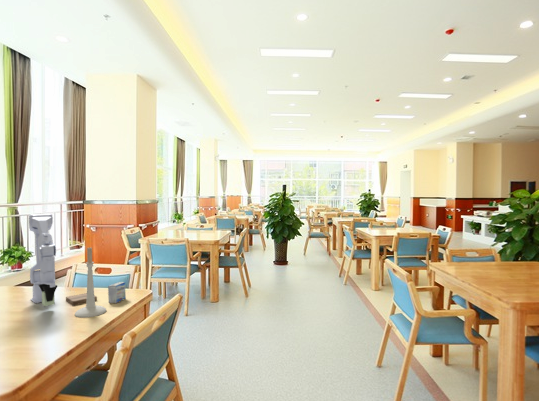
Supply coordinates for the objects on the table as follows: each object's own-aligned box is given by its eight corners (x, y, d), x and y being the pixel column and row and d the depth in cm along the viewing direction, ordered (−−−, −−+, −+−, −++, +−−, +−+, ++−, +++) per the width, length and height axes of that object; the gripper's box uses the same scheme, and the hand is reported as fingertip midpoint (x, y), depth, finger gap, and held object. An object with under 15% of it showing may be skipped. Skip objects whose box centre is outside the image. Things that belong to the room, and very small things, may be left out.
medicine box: (116, 303, 174) (115, 285, 173) (108, 303, 175) (107, 285, 174) (125, 298, 181) (125, 281, 181) (118, 298, 182) (117, 281, 182)
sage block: (42, 304, 163) (41, 291, 163) (51, 302, 166) (51, 289, 166) (44, 306, 161) (44, 293, 161) (54, 304, 164) (54, 291, 163)
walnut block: (66, 301, 179) (65, 297, 179) (89, 297, 186) (89, 292, 186) (73, 306, 171) (72, 301, 171) (96, 301, 179) (96, 296, 179)
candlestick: (112, 309, 164) (111, 245, 164) (91, 318, 152) (89, 249, 152) (90, 307, 168) (89, 244, 168) (67, 316, 156) (66, 248, 155)
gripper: (33, 270, 165) (33, 299, 165) (42, 274, 155) (42, 305, 156) (50, 267, 170) (50, 295, 171) (60, 272, 161) (60, 301, 161)
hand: (48, 300), depth 163 cm, fingers closed on sage block, 4 cm apart
